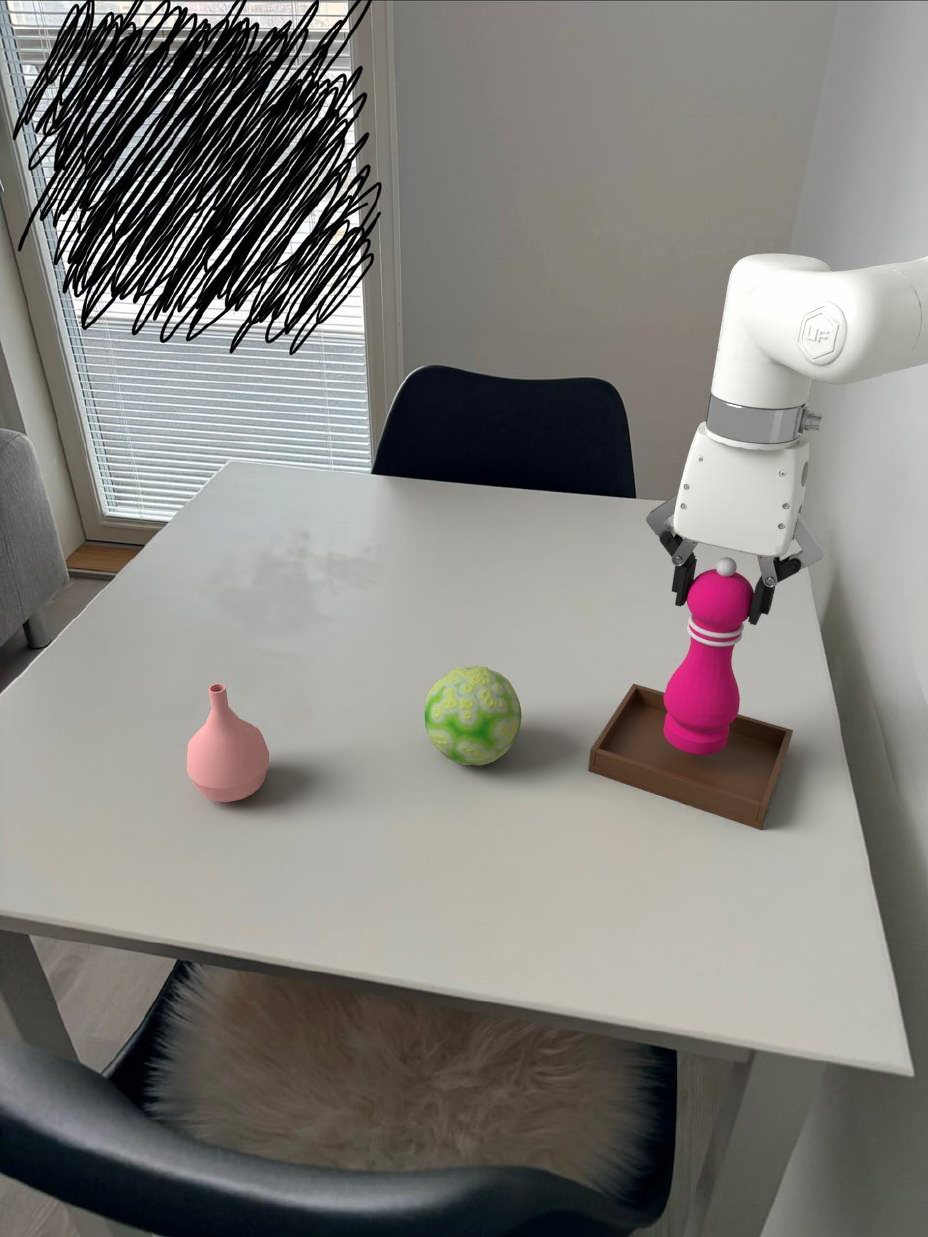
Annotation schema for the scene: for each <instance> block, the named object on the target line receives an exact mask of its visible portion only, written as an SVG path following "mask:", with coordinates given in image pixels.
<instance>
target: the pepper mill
mask: <svg viewBox="0 0 928 1237" xmlns="http://www.w3.org/2000/svg"><path fill="white" fill-rule="evenodd" d="M737 567H738V565H737V562H736V560H735V559H733V558H731V557H729V556H726V557H722V558H720V559H718V561H717V562H716V566H715V568H711V569H708V570H705V571H703V572H701V573H699V574H698V575H697V576H696V577H694V580H693V581H692V583H691V585H690V587H689V589H688V593H687V601H686V605H687V608H688V610H689V612H690V615H689V616H688V621H687V622H688V623H687V626H686V631H687V633H688V635H689V636H690V644H689V647H688V652H687V653H686V656H685V658H684V659H683V660H682V662H681V663H680V665H679V666H678V667H677V668H676V670H675V671H674V672H673V674H671V676H670V679H669V680H668V682H667V684H666V687H665V691H664V693H665V694H664V705H665V707H666V710H667V711H668V713H667V714H666V718H665V724H664V735H665V737H666V739H667V740H668V742H669V743H670V744H672V745H673V746H674V747H676V748H677V749H679V750H681V751H684V752H687V753H690V754H696V755H709V754H713V753H717V752H718V751H720V750H722V749H723V748H724V747H725V745H726V743H727V738H728V734H729V724H730V723H732V722H733V721H734V719H735V718H736V717H737V714H739V713H740V702H741V697H740V689H739V685H738V682H737V679H736V676H735V674H734V670H733V665H732V664H733V663H732V660H733V652H734V648H735V645H736V644H738V643H739V642H740V641H741V640H742V637H743V631H744V628H745V625H744V622H745V621H746V620H747V619H749V615H750V610H751V606H752V601H753V596H754V591H755V589H754V588H753V586H752V584H751V582H750V581H749V580H748V579H747V578H746V577H745V576H744V575H742V574H741V573H739V572H737Z"/></svg>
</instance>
